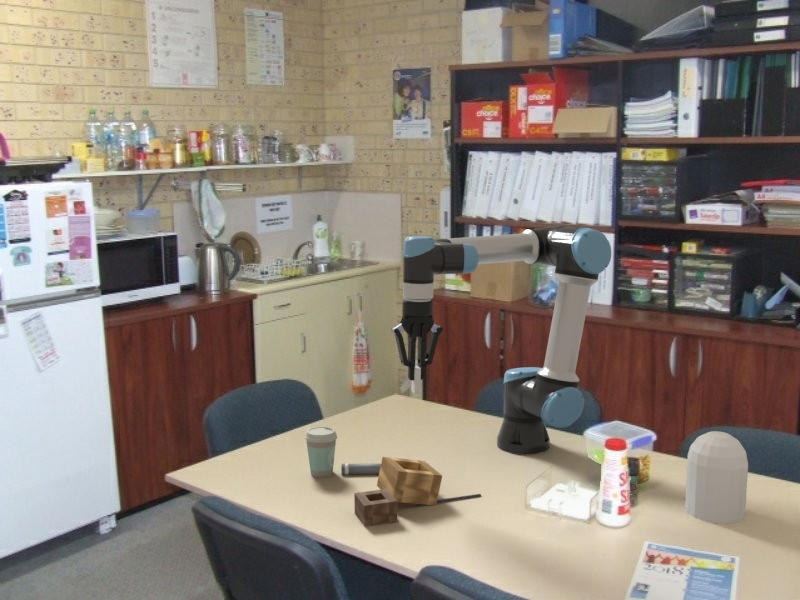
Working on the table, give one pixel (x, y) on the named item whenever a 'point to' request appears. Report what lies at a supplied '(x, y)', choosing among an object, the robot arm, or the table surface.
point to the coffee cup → (321, 450)
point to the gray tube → (360, 468)
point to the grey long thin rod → (455, 498)
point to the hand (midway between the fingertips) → (415, 392)
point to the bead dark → (375, 507)
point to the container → (716, 478)
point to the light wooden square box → (410, 480)
